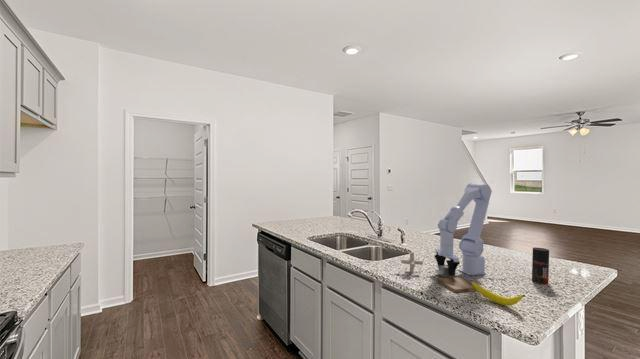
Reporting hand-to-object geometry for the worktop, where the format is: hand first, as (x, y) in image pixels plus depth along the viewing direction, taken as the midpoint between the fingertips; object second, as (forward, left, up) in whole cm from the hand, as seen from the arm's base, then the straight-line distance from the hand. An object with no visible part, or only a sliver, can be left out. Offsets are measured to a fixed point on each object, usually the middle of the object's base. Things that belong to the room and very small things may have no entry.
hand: (446, 272), depth 136 cm
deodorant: (-37, +15, -2) cm, 40 cm away
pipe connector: (+14, -7, -2) cm, 16 cm away
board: (+3, +12, -1) cm, 12 cm away
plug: (0, 0, -2) cm, 2 cm away
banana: (0, +29, -2) cm, 29 cm away
